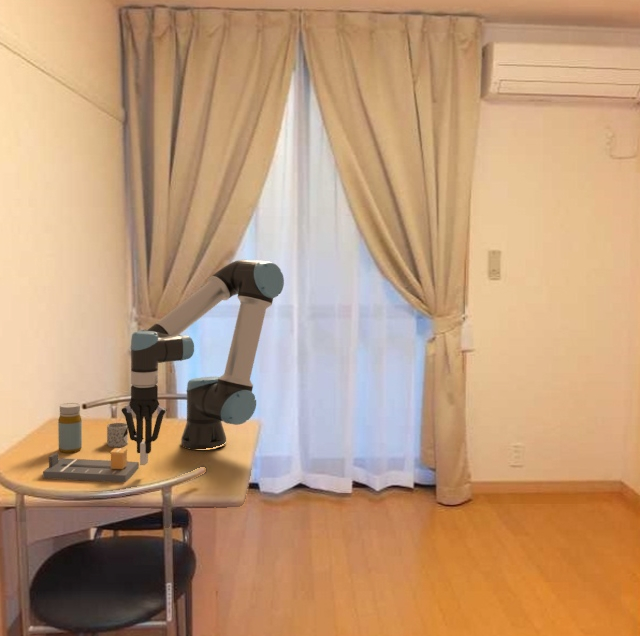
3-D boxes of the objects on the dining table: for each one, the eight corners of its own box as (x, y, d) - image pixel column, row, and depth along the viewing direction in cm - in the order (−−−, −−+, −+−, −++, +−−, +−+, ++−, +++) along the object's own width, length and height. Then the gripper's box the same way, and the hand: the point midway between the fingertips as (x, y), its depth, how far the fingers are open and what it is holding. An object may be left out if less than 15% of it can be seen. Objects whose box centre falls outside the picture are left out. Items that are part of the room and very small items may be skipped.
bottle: (74, 454, 216) (73, 408, 214) (54, 452, 217) (53, 406, 216) (85, 448, 223) (85, 403, 221) (66, 446, 224) (66, 401, 223)
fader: (127, 465, 201) (127, 448, 200) (123, 469, 197) (123, 452, 196) (114, 464, 201) (114, 447, 200) (110, 468, 197) (110, 451, 197)
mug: (128, 446, 226) (128, 427, 225) (107, 448, 224) (107, 428, 223) (126, 438, 235) (126, 419, 235) (106, 439, 233) (106, 420, 232)
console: (138, 468, 205) (138, 452, 205) (125, 482, 193) (125, 465, 193) (60, 464, 206) (60, 448, 206) (43, 478, 194) (42, 461, 194)
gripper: (170, 383, 199) (169, 460, 202) (126, 381, 200) (126, 458, 203) (163, 388, 192) (162, 469, 195) (117, 386, 192) (117, 466, 195)
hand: (143, 463), depth 199 cm, fingers closed
